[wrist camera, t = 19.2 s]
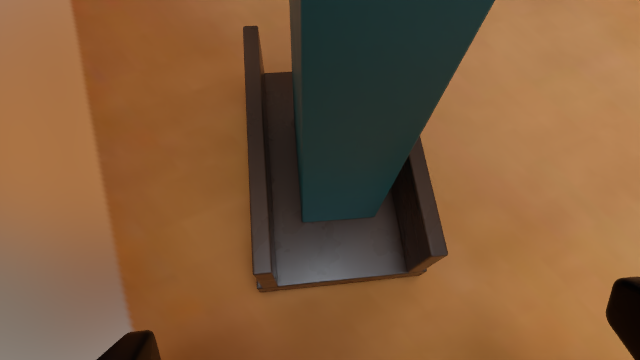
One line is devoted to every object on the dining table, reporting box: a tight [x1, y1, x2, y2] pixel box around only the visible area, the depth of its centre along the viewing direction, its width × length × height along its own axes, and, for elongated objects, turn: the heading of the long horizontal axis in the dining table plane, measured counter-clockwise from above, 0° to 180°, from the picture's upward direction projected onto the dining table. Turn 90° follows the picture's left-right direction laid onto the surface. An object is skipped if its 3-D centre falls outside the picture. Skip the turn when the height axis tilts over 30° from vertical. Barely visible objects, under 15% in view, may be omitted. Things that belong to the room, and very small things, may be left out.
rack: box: [243, 26, 448, 292], centre depth 16 cm, size 10×7×4 cm, turn 6°
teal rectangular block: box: [289, 0, 495, 222], centre depth 11 cm, size 5×3×13 cm, turn 5°
